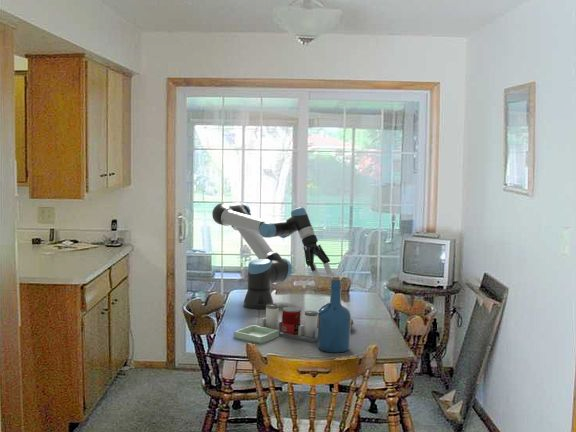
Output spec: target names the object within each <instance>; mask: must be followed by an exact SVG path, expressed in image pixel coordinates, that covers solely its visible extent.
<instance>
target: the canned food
mask: <svg viewBox="0 0 576 432" xmlns="http://www.w3.org/2000/svg"><path fill="white" fill-rule="evenodd" d="M281 313H282V314H281V316H282V317H281V320H282V331H281V332H283V333H288V334H293V335H298V331H299V326H300V325H301V308H299V307H296V306H285V307H283V308H282V312H281Z"/></svg>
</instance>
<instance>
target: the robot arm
mask: <svg viewBox="0 0 576 432" xmlns="http://www.w3.org/2000/svg"><path fill="white" fill-rule="evenodd" d="M290 215H291V217H289V218H288V219H285V220H280V221H279V220H278V221H277V220H276V221H271V220H267V219H263V218H260V217H255V216H253V215H252V213H251V208H250V206H248V204H246V203H245V202H243V201H242V202H241V201H234V202H221V203H218V204H217V205H215V206H214V208H213V210H212V214H211V216H212V220H213V221H214V222H215V223H216V224H218V225H221V226H225V227H229V226H231V228H232V229H233V230H234V231H238V232H239V233H240V235H241V237H242V238H243V239H244V241H245V242H246V243H247V245H248V247H249V248H250V249H251V250H252V252H253V254H254V255H255V256H256V259H253V260H250V261H249V263H248V267H247V290H246V293H245V297H244V299H243V307H245V308H248V309H253V310H254V309H255V310H266V305H267V304H274V300H273V296H272V292H271V286H272V285H271V284H275V283H282V282H285V281H287V280H288V279H290V278H291V276H292V271H293V270H292V269H293V266H292V264H291V261H290V260H289V259H287V258H284V257H283V258H282V257H281V255H280V253H278V252H274V250H273V249H272V248H271V247H270V245H269V244H268V242H267V241H266V240H265V238H268V239H269V238H274V237H280V238H282V239H285V238H288V237H289V236H291V235H293V234H294V233H296V232H298V235H299V237H300V239H301V242H302V244H303V251H304V258H305V264H306V266H307V267H310V270H311V272H312V275H313V277H314V279H316V278H318V277H320V272H319V270H318V268H317V266H316V263H315V260H314V259H315V256H316V257H317V258H318V259H319V260H320V261H321V262H322V263H323V267H324V271H325V272H326V275H327V277H330V276H332V275H333V271H332V269H331V266H330V258H329V257H328V255H327V254H326V252H325V251H324V249H323V247H322V245H321V244H318V245H317V243H318V242H319V239H318V237H317V236H316V234H315V230H314V227H313V226H312V224H311V220H310V218H309V214H308V213H307V211H306V208H304V207H303V206H301V207H297V208H294V209H293V210H291V212H290Z"/></svg>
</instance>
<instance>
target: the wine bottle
mask: <svg viewBox="0 0 576 432" xmlns="http://www.w3.org/2000/svg"><path fill="white" fill-rule="evenodd" d="M341 294H342V281H341V279H340V276H338V275H334V276H333V277H332V279H331V282H330V296H329V302H328V303H326V304H324V305H323V306H321V307H320V308H319V310H318V311H317V312H318V315H319V318H318V341H317V348H318V349H320V350H321V351H322V352H327V353H333V354H335V353H336V354H337V353H343V352H344V353H345V352H347V351H349V348H350V346H351V328H352V326H351V320H352V313H351V311H350V310H349V308H347V307H345V306H344V305H342V300H341V299H342V295H341Z"/></svg>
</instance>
